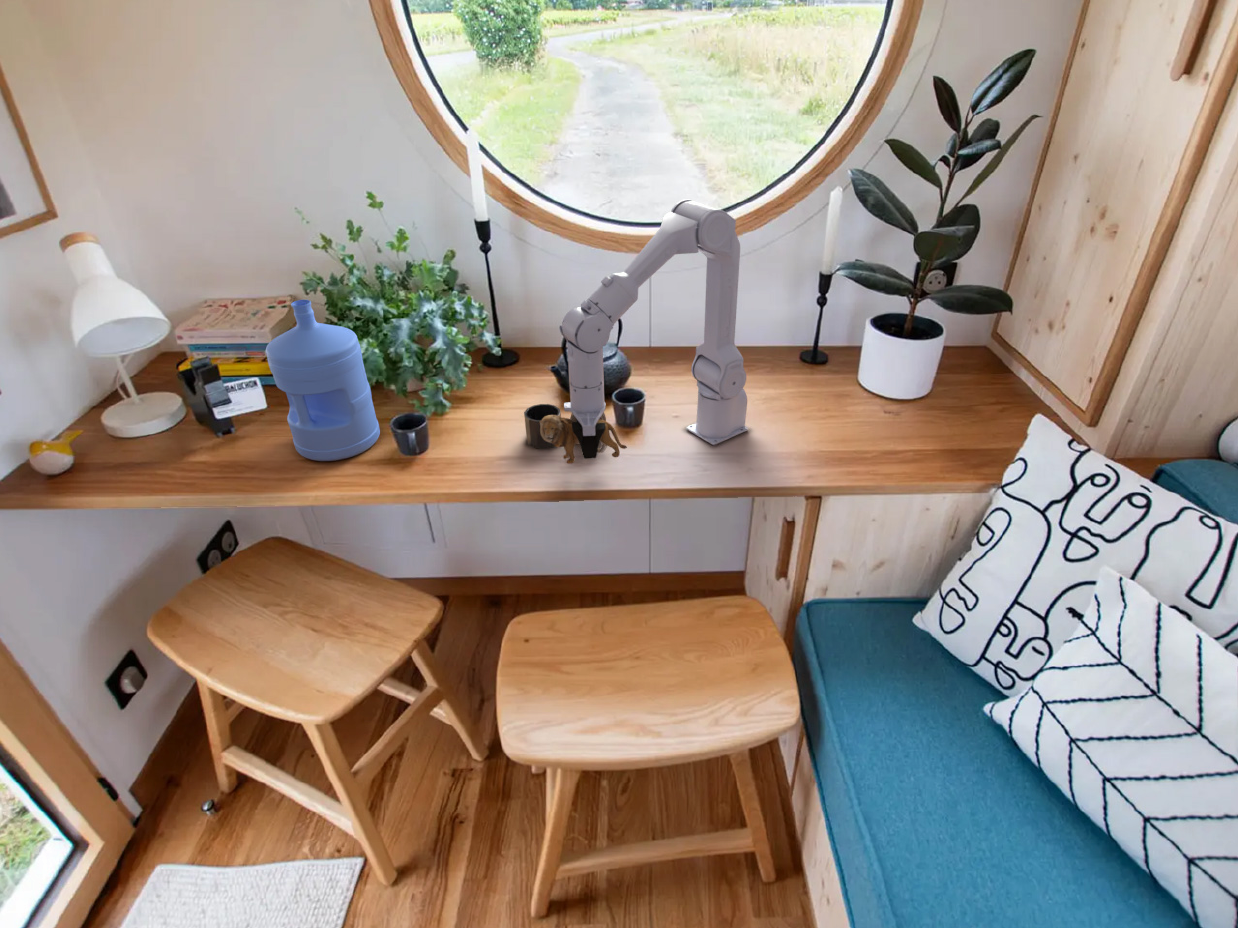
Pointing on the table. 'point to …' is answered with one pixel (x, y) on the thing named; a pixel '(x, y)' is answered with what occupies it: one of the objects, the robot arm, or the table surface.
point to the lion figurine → (573, 436)
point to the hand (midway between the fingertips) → (589, 450)
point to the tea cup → (538, 424)
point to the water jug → (323, 387)
